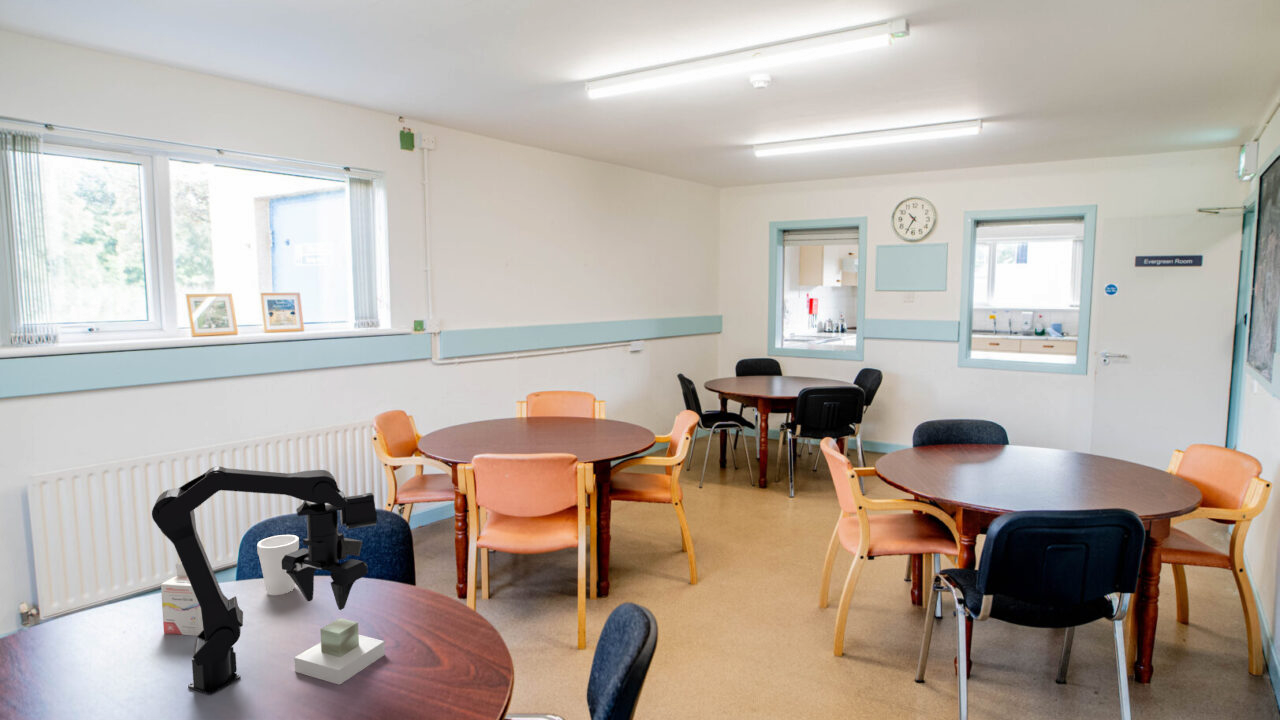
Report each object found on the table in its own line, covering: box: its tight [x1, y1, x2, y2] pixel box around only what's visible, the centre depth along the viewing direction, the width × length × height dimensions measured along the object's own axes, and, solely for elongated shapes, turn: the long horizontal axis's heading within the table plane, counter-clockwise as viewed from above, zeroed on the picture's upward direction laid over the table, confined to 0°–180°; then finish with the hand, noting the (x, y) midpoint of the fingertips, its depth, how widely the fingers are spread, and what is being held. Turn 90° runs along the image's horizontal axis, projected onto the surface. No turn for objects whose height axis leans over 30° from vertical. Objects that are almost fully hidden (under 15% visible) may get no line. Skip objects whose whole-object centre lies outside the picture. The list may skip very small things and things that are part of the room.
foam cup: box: [256, 534, 300, 596], centre depth 172 cm, size 10×9×13 cm
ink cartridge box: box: [160, 562, 204, 637], centre depth 151 cm, size 9×5×15 cm, turn 84°
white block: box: [293, 634, 386, 685], centre depth 138 cm, size 12×12×3 cm
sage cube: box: [320, 617, 360, 657], centre depth 138 cm, size 5×5×5 cm
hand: (325, 604), depth 140 cm, fingers open, 9 cm apart
